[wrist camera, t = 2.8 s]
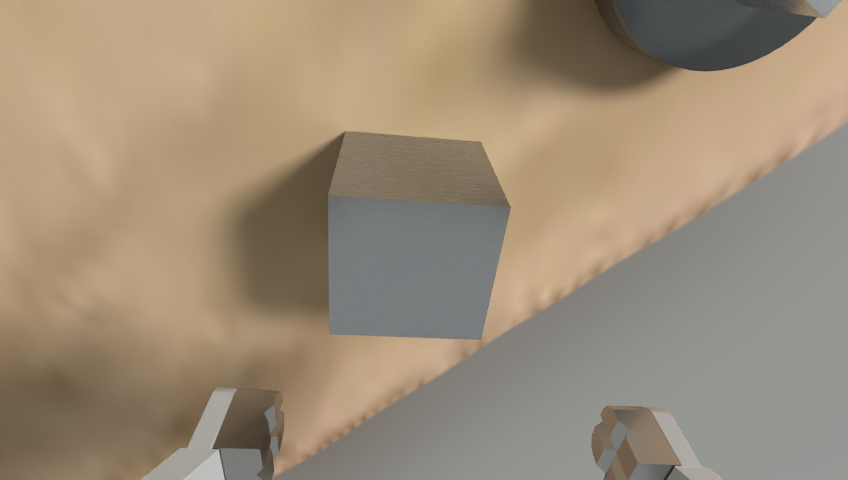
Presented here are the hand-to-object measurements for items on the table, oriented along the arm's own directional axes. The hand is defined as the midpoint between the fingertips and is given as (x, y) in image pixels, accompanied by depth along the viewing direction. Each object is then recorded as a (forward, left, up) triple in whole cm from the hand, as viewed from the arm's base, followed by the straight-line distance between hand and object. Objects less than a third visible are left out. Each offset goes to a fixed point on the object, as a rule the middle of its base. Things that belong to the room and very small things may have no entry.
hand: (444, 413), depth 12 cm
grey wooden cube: (-1, 0, -11) cm, 11 cm away
